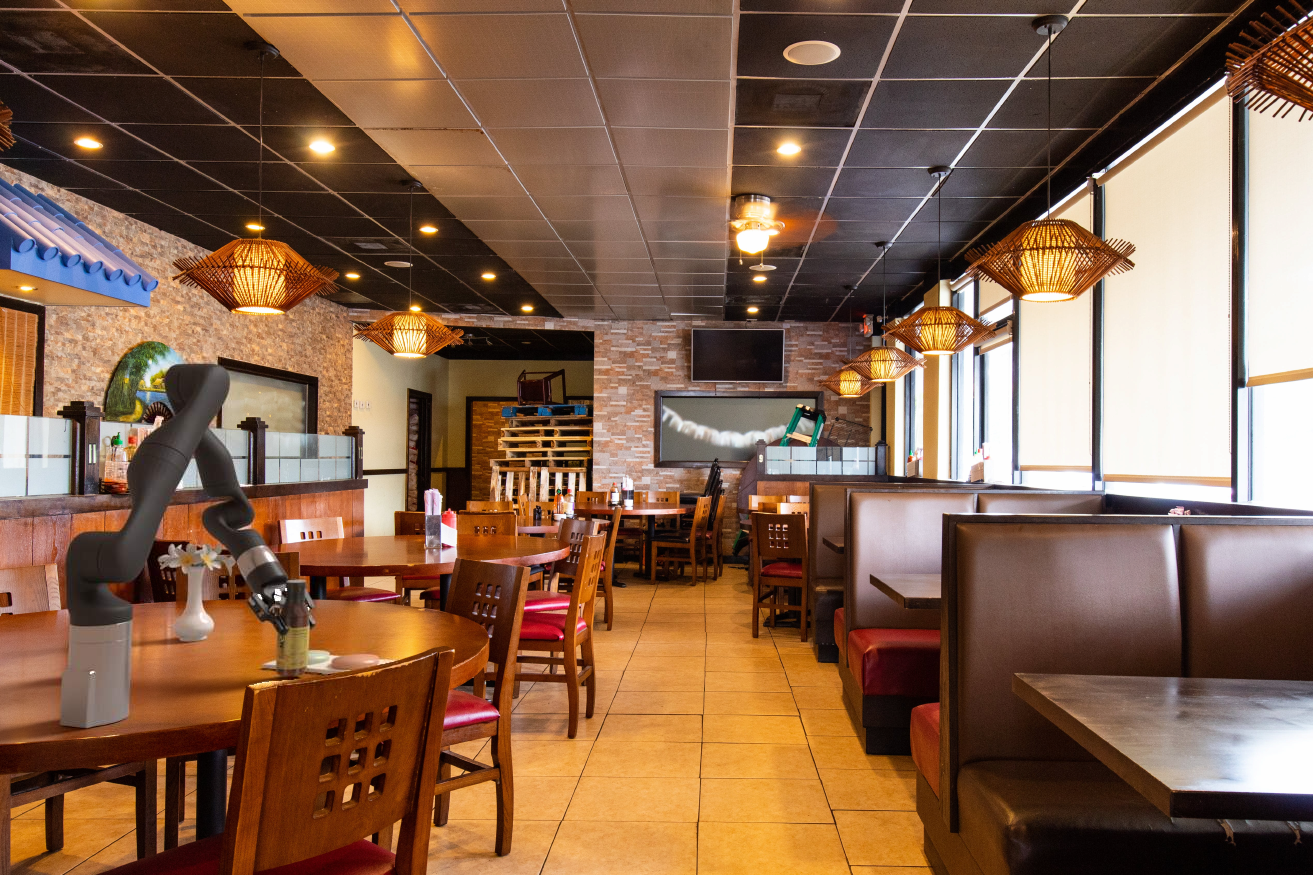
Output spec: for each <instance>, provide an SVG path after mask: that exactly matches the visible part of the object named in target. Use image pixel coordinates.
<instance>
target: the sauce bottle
mask: <svg viewBox="0 0 1313 875" xmlns="http://www.w3.org/2000/svg"><path fill="white" fill-rule="evenodd" d="M288 580H289V579H288ZM305 589H306V590H307V580H305V579H290V580H289V581H286V599H285V604H284V606H283V608H282V609H281V610H280V615H279V616H282V618H283V619H284V621H285V622H286V624H287V626H288V627H289V631H288V633H287V634H286V635H284V636H281V635H280V634H279V633H278V632H277V636H276V638H277V639H276V656H275V657H276V658H275V659H276V668H277V669H276V670H275V671H276V674H277V675H279V676H281V677H294V676H301V675H304V674H305V672H306V671H307V665H308V650H309V648H310V647H309V645H310V631H309V629H310V624H309V617H310V614H311V613H310V612H311V611H310V612H309V609H308V607H307V606H308V605H307V606H306V604H305V602H304V601H305Z"/></svg>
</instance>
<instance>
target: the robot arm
mask: <svg viewBox="0 0 1313 875" xmlns="http://www.w3.org/2000/svg"><path fill="white" fill-rule="evenodd" d="M163 385H164V390H165V394H166V397H167V400H168V402H169V405H170V407H171V409H172V411H173V413H174V416H173V417H172V418H170V419H168V420H167V421H165V422H164V423H162V424H161V425H160V426H158V427H157V428H155V429H154V430H153V431H151V432H150V433H149V434H148V435H147V436H146V437H145V438H143V440H142V441H141V442H140V444H138V447H137V448H136V451H135V452H134V454H133V456H132V457H131V460H130V461H129V463H128V465H127V468H126V473H125V474H126V476H125V478H126V482H127V483H126V484H127V488H128V491H129V496H130V500H131V508H130V509H131V510H130V513H129V515H128V517H127V520H126V521H125V523H124V525H123V526H122V528H121V529H120V530H117V531H113V530H112V531H111V530H108V531H107V530H103V531H102V530H99V531H98V530H91V531H90V530H89V531H83V532H80V533H78V534H77V535H76V536H74V538H72V540H71V542H70V543H69V546H68V548H67V551H66V554H65V556H66V557H65V563H64V564H65V565H64V566H65V567H64V568H65V569H64V570H65V572H64V573H65V575H64V576H65V605H66V609H67V611H68V615H69V636H68V637H69V638H68V640H69V641H68V656H67V657H68V659H67V662H68V663H67V668H64V669H63V670H62V671H61V692H60V693H61V694H60V712H59V713H60V714H59V715H60V717H59V718H60V719H59V726H65V727H75V728H82V729H89V728H92V727H96V726H97V727H99V726H104V725H108V724H113V723H116V722H119V721H122V720H125V719H126V718H128V717H129V716H130V696H131V695H130V693H131V690H130V689H131V669H132V668H131V667H132V642H133V622H134V621H133V620H134V619H133V617H134V616H133V614H134V613H133V612H134V611H133V610H134V608H133V605H132V603H130V602H129V601H127V600H124V599H122V598H120V597H119V596H116V595H115V594H113V592H111V590H110V588H109V585H108V584H127V583H130V582H132V581H134V580H135V579H136V578H137V577H138V576H139V575H140V573H141V572H142V570H143V568H144V567H145V565H146V562H147V561H148V558H149V555H150V553H151V551H152V548H153V545H154V541H155V540H156V536H157V534H158V530H159V529H160V525H161V523H162V520H163V517H164V515H165V513H166V511H167V508H168V507H169V504H170V502H171V500H172V498H173V496H174V494H175V492H176V490H177V488H178V487H179V485H180V483H181V481H182V480H183V476H184V475H185V473H186V471H187V469H188V467H189V465H190V462H191V460H192V458H193V457H194V461H195V463H196V467H197V470H198V471H197V472H198V474H199V479H200V482H201V486H202V489H203V491H204V494H205V495H206V496H208V497H211V498H222V497H230V499H229V500H225V501H221V502H219V503H216V504H213V505H210V506H208V507H206V508H204V510H203V511H202V513H201V519H200V520H201V524H202V526H203V528H204V529H205V531H206V532H207V533H208V534H209V535H210V536H211V537H212V538H214V539H215V540H216V541H217V542H219V543H220V545H221V546H224V547H225V548H226V549H227V551H228V552H229V553H230V555H231V556H233V558H234V560H235V561H236V563H235V564H237V567H238V569H239V572H240V574H241V576H242V577H243V579H244V580H245V582H246V584H247V585H248V587H249V589H250V590H251V592H252V593H251V594H252V595H251V596H250V597H249V598H248V600H247V601H246V604H247V605H248V607H249V608H250V610H251V611H252V612H253V614H255V616H256V617H257V618H258V620H259V622H261V623H265V622H268V623H270V624H271V625H272V626H273V628H274V629H275V630H276V632H277V634H278V633H279V634H280V635H281V636H284V635H286V634H287V633H288V631H289V627H288V626H287V624H286V622H285V621H284V619H283V618H282V616H279V615H280V613H281V610H282V608H283V606H284V604H285V599H286V581H289V576H288V574H287V573H286V571H285V569H284V567H283V566H282V565H281V563H280V561H279V559H278V558H277V556H276V555H275V553H273V551H272V550H271V549H270V548H269V546H268V545H267V543H266V541H265V540H264V538H263V537H262V535H261V533H260V532H259V531H258V530H256V529H254V528H246V527H248V526H250V525H252V523H253V522H254V520H255V518H256V511H255V509H254V507H253V504H252V503H251V501H250V500H249V499H248V498H247V496H246V495H245V493H244V490H243V489H242V487H241V485H240V483H239V480H238V477H237V476H238V475H237V470H236V467H235V464H234V461H233V457H232V455H231V453H230V451H229V450H228V448H227V447H226V445H225V444H224V443H223V442H222V441H221V439H220V438H219V437H218V436H217V435H216V434H215V433H214V432H213V431H212V430H211V429H210V425H211V424H212V422H213V420H214V419H215V418H216V416H217V415H218V413H219V412H220V410H221V408H222V407H223V405H224V404H225V402H226V400H227V397H228V395H229V392H230V386H231V378H230V374H229V372H228V370H227V369H226V368H225V367H223V366H222V365H219V364H217V363H206V362H205V363H177V364H173V365H171V366H170V367H169V368H168V369H167V371H166V372H165V374H164V379H163ZM243 528H245V529H243ZM304 602H305V604H306V606H307V607H308V609H309V612H311V611H312V610H313V609H314V607H315V604H314V602H313V599H312V597H311V596H310V594H309V591H308V590H307V588H306V589H305V601H304ZM309 624H310V629H309V632H310V631H312V630H313V628H315V627H316V621H315V619H314V617H313V616H312V614H311V613H310V617H309Z"/></svg>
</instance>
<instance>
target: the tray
mask: <svg viewBox="0 0 1313 875" xmlns="http://www.w3.org/2000/svg"><path fill="white" fill-rule="evenodd" d="M394 661H396V662H397V660H394V659H385V658H383V659H380V657H379V656H378V655H375V654H369V653H355V654H345V655H333V654H330V651H326V650H323V649H322V650H319V649H316V650H315V649H310V650H309V649H308V665H307V671H309V672H318V673H322V674H321V675H328V674H331V673H337V672H344V671H350V670H355V669H359V668H364V667H370V666H375V665H380V664H385V663H389V662H394ZM263 668H271V669H272V668H273V669H277V668H276V660H272V661H268V662H266V663H263V664H262V669H263ZM271 669H270V670H271Z"/></svg>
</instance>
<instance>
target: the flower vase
mask: <svg viewBox="0 0 1313 875" xmlns="http://www.w3.org/2000/svg"><path fill="white" fill-rule="evenodd" d="M182 546H183V545H182V544H180V545H178V546H176V547H175V544H173V543H171V544H170V545H169V546H168V554H164V555H163V554H162V555H161V556H160V557H159V558H158V559H157V561H158V562H160V563H162V564H161V566H160V568H159V569H160V570H163V569H164V568H165V567H167V566H168V567H169V568H173V569H174V568H178V567H181V571H182V572H183V574H184V575H186V574H187V577H188V591H187V601H186V605H185V609H184V611H183V612H182V614H181V615H180V616H179V617H178V618H177V620H175V621H174V623H173V625H172V631H173V632H174V634H175V635H176V636H178V637H179V641H180V642H187V643H191V642H192V643H193V642H199V641H200V642H201V641H204V640H206V639H207V638H208V636H207V635H208V634H210V633H211V632H212V631H213V629H214V628H215V623H214V620H213V619H212V617H211V616H210V615H209V614H208V613H207V612H206V610H205V608H204V605H203V596H202V595H203V594H202V590H203V588H202V584H203V583H202V582H203V576H204V572H205V569H206V567H207V568H208V569H209V570H210V571H213V570H214V568H217V569H222V563H224V564H225V567H226V569H227V570H228V573H229V576H230V578H231V577H232V572H233V569H232V567H234V566H235V564H237V563H236V561H235V560H234V558H233V556H232V555H231V556H230V557H227V556H225V555H223V554H221V552H222V551H223V547H222V544H217V545H215V546H214V547H213V548H212V546H211V544H209V543H208V542H207V543H205V544H203V545H202V549H199V550H197V549H198V548H197V545H195V544H194V545H193V543H187V545H186V547H185V550H186V551H184V550H183V549H182Z"/></svg>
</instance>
